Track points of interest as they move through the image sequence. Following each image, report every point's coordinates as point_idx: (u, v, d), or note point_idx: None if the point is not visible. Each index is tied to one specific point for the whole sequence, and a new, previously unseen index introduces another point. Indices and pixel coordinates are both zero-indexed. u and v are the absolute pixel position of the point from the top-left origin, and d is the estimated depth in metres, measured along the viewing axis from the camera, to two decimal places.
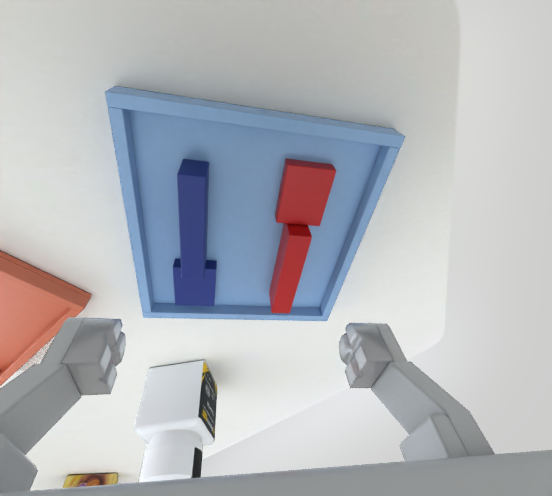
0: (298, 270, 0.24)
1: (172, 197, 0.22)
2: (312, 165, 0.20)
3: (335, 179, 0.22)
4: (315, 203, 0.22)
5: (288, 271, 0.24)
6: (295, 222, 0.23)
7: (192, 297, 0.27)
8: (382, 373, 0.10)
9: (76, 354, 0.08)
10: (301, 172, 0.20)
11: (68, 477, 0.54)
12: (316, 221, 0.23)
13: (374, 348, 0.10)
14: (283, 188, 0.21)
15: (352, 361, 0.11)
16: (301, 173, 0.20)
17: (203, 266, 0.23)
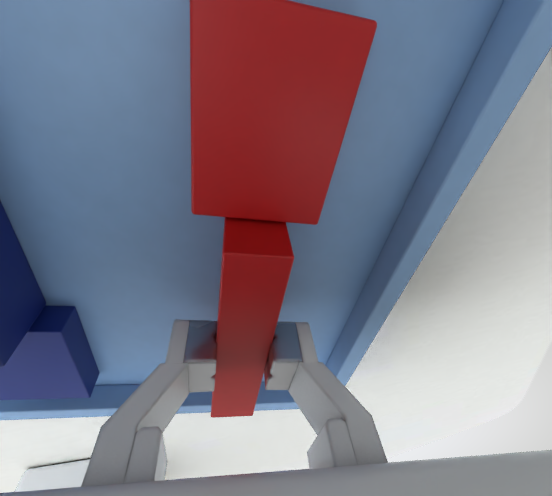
0: (262, 340, 0.09)
1: None
2: None
3: (364, 83, 0.07)
4: (304, 154, 0.07)
5: (235, 342, 0.09)
6: (248, 214, 0.08)
7: (30, 386, 0.12)
8: (294, 375, 0.09)
9: (193, 355, 0.09)
10: (248, 23, 0.05)
11: None
12: (308, 211, 0.08)
13: (285, 348, 0.09)
14: (192, 94, 0.06)
15: (268, 362, 0.10)
16: (248, 29, 0.06)
17: None
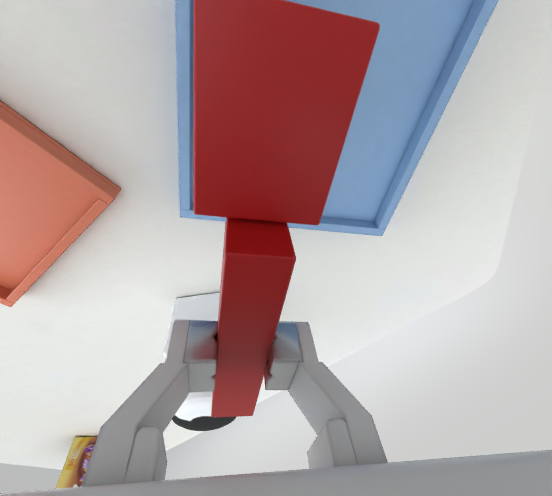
0: (263, 341, 0.09)
1: None
2: (293, 3, 0.06)
3: (422, 27, 0.19)
4: (306, 155, 0.07)
5: (236, 342, 0.09)
6: (250, 215, 0.08)
7: None
8: (294, 374, 0.09)
9: (194, 354, 0.09)
10: (252, 24, 0.05)
11: (76, 438, 0.51)
12: (309, 212, 0.08)
13: (285, 348, 0.09)
14: (195, 95, 0.06)
15: (268, 361, 0.10)
16: (251, 31, 0.06)
17: None
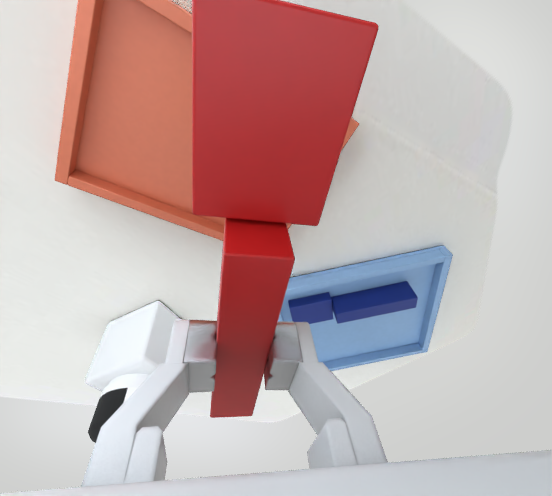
0: (262, 341, 0.09)
1: (380, 281, 0.33)
2: None
3: (397, 336, 0.40)
4: (305, 155, 0.07)
5: (235, 343, 0.09)
6: (249, 215, 0.08)
7: (301, 315, 0.33)
8: (294, 375, 0.09)
9: (194, 354, 0.09)
10: (250, 25, 0.05)
11: None
12: (308, 212, 0.08)
13: (285, 348, 0.09)
14: (194, 95, 0.06)
15: (268, 362, 0.10)
16: (249, 31, 0.06)
17: None
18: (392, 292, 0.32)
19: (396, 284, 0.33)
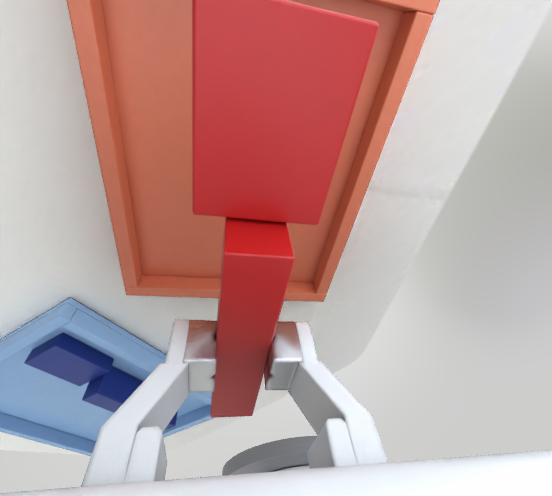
0: (262, 341, 0.09)
1: None
2: None
3: None
4: (305, 154, 0.07)
5: (235, 343, 0.09)
6: (249, 215, 0.08)
7: (55, 360, 0.22)
8: (294, 374, 0.09)
9: (193, 354, 0.09)
10: (250, 23, 0.05)
11: None
12: (308, 211, 0.08)
13: (285, 348, 0.09)
14: (194, 94, 0.06)
15: (268, 362, 0.10)
16: (250, 30, 0.06)
17: (96, 405, 0.24)
18: None
19: None
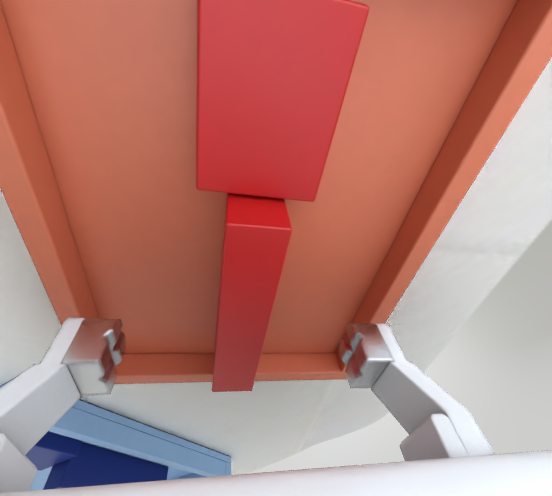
0: (262, 313, 0.10)
1: None
2: None
3: None
4: (301, 132, 0.08)
5: (236, 314, 0.10)
6: (249, 191, 0.09)
7: None
8: (382, 373, 0.10)
9: (76, 355, 0.08)
10: (251, 5, 0.06)
11: None
12: (305, 188, 0.09)
13: (374, 348, 0.10)
14: (198, 73, 0.07)
15: (352, 361, 0.11)
16: (250, 12, 0.06)
17: None
18: (146, 479, 0.23)
19: (157, 466, 0.25)
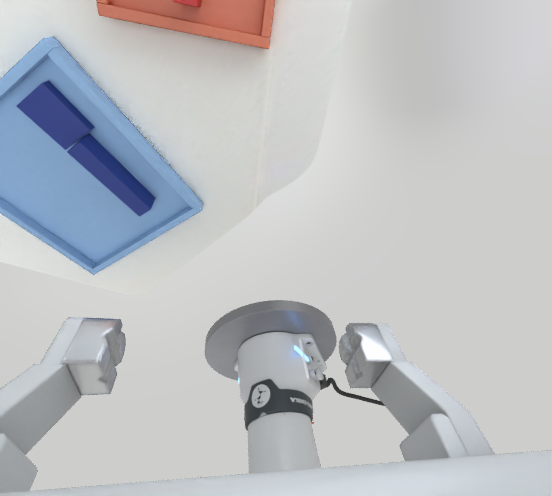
0: None
1: (140, 173, 0.33)
2: None
3: (88, 239, 0.37)
4: None
5: None
6: None
7: (42, 105, 0.26)
8: (382, 373, 0.10)
9: (76, 354, 0.08)
10: None
11: None
12: None
13: (374, 348, 0.10)
14: None
15: (352, 361, 0.11)
16: None
17: None
18: (138, 188, 0.32)
19: (146, 190, 0.34)
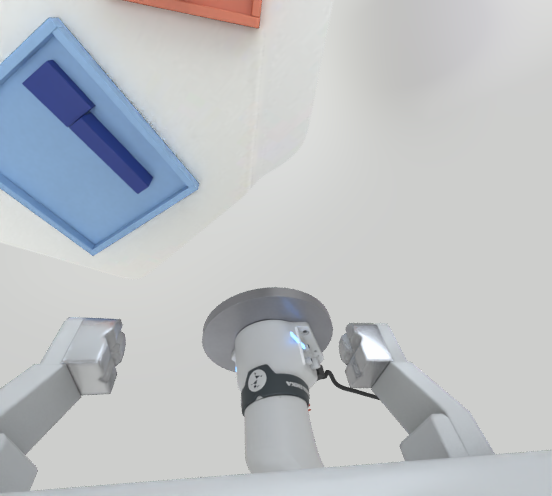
0: None
1: (139, 153, 0.34)
2: None
3: (88, 219, 0.39)
4: None
5: None
6: None
7: (47, 82, 0.28)
8: (382, 373, 0.10)
9: (76, 355, 0.08)
10: None
11: None
12: None
13: (374, 348, 0.10)
14: None
15: (352, 361, 0.11)
16: None
17: (81, 139, 0.30)
18: (137, 166, 0.34)
19: (145, 169, 0.35)
